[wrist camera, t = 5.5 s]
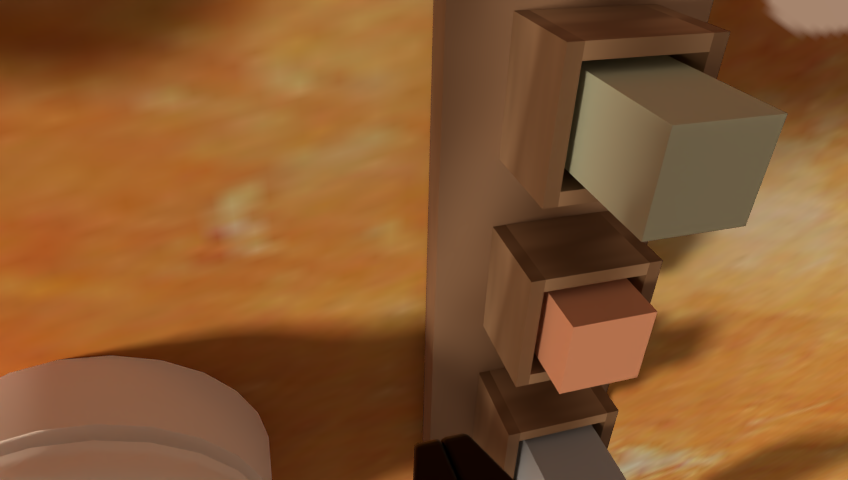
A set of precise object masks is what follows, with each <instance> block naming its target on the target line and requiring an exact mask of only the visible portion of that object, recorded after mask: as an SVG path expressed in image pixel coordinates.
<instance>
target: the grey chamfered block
mask: <svg viewBox="0 0 848 480" xmlns="http://www.w3.org/2000/svg"><path fill="white" fill-rule="evenodd" d="M514 479H515V480H626V479H625V477H624V475H623V474H622V472H621V471H620V469H619V467H618V466H617V464H616V463H615V461H614V460H613V458H612V456H611V455H610V453H609V452H608V450H607V448H606V447H605V445H604V444H603V442H602V440H601V439H600V437H599V436H598V434H597V432H596V431H595V429H594V428H593V426H592V425H587V426H583V427H578V428H574V429H570V430H565V431H561V432H557V433H553V434H548V435H544V436H540V437H535V438H531V439H527V440H522V441H519V446H518V452H517V458H516V464H515V470H514Z"/></svg>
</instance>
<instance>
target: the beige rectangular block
mask: <svg viewBox="0 0 848 480" xmlns="http://www.w3.org/2000/svg"><path fill="white" fill-rule="evenodd" d="M787 114H788V113H786V112H783V111H781V110H779V109H777V108H775V107H773V106H771V105H769V104H767V103H765V102H763V101H761V100H759V99H757V98H754V97H752V96H750V95H748V94H746V93H744V92H742V91H740V90H738V89H736V88H734V87H732V86H730V85H728V84H726V83H723V82H721V81H719V80H717V79H715V78H713V77H711V76H709V75H707V74H705V73H703V72H701V71H699V70H697V69H694V68H692V67H690V66H688V65H686V64H684V63H682V62H680V61H678V60H676V59H674V58H672V57H670V56H668V55H658V56H644V57H630V58H616V59H602V60H588V61H582V64H581V70H580V76H579V82H578V88H577V95H576V101H575V107H574V113H573V119H572V125H571V131H570V137H569V143H568V149H567V155H566V161H565V167H564V168H565V169H566V170H567V171H568V172H569V173H570V174H571V175H572V176H573V177H574V178H575V179H576V180H577V181H578V182H580V183H581V184H582V185H583V186H584V187H585V188H586V189H587V190H588V191H589V192H590V193H591V194H592V195H593V196H594V197H595V198H596V199H597V200H598V201H599V202H600V203H601V204H602V205H603V206H605V207H606V208H607V209H608V210H609V211H610V212H611V213H612V214H613V215H614V216H615V217H616V218H617V219H618V220H619V221H620V222H621V223H622V224H623V225H624V226H625V227H626V228H627V229H628V230H629V231H631V232H632V233H633V234H634V235H635V236H636V237H637V238H638V239H639V240H640V241H641V242H645V241H652V240H658V239H665V238H671V237H678V236H684V235H691V234H697V233H703V232H710V231H716V230H723V229H729V228H736V227H742V226H746V223H747V220H748V218H749V215H750V212H751V210H752V207H753V204H754V202H755V199H756V196H757V194H758V191H759V188H760V186H761V183H762V180H763V178H764V175H765V172H766V170H767V167H768V164H769V162H770V159H771V156H772V154H773V151H774V149H775V146H776V143H777V141H778V138H779V135H780V133H781V130H782V127H783V125H784V122H785V119H786V117H787Z"/></svg>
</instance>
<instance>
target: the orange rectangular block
mask: <svg viewBox="0 0 848 480" xmlns="http://www.w3.org/2000/svg"><path fill="white" fill-rule="evenodd" d="M656 315H657V311H656V310H655V309H654V307H653V306H652V305H651V304H650V303H649V302H648V301H647V300H646V299H645V298H644V297H643V295H642V294H641V293H640V292H639V291H638V290H637V289H636V288H635V287H634V286H633V285H632V284H631V282H630V281H629V280H628V279H627V278H624V279H618V280H612V281H607V282H601V283H595V284H589V285H583V286H577V287H571V288H565V289H559V290H554V291H548V292H544V295H543V301H542V307H541V313H540V319H539V325H538V331H537V337H536V343H535V349H534V353H535V354H536V356H537V358H538V359H539V361H540V363H541V364H542V366H543V368H544V369H545V371H546V373H547V374H548V376H549V377H550V379H551V381H552V382H553V384H554V386H555V387H556V389H557V391H558V392H559V394H562V393H566V392H571V391H575V390H580V389H585V388H589V387H594V386H599V385H603V384H608V383H613V382H617V381H622V380H627V379H631V378H636V377H638V373H639V370H640V367H641V364H642V360H643V357H644V354H645V351H646V347H647V344H648V341H649V338H650V334H651V331H652V328H653V325H654V321H655V318H656Z"/></svg>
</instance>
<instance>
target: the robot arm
mask: <svg viewBox="0 0 848 480" xmlns="http://www.w3.org/2000/svg"><path fill="white" fill-rule="evenodd" d="M413 480H513V479H512V478H511V477H510V476H509V475H508V474H507V473H506V472H505V471H504V470H503V469H502V468H501V467H500V466H499V465H498V464H497V463H496V462H495V461H494V460H493V459H492V458H491V457H490V456H489V455H488V454H487V453H486V452H485V451H484V450H483V449H482V448H481V447H480V446H479V445H478V444H477V443H476V442H475V441H474V440H473V439H472V438H471V437H470V436H469V435H467V434H465V433H460V434H456V435H451V436H447V437H444V438H442V439H441V441H440V440H438V439H433V440H429V441H425V442H420V443H417V444H416V445H415V448H414V473H413Z"/></svg>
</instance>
